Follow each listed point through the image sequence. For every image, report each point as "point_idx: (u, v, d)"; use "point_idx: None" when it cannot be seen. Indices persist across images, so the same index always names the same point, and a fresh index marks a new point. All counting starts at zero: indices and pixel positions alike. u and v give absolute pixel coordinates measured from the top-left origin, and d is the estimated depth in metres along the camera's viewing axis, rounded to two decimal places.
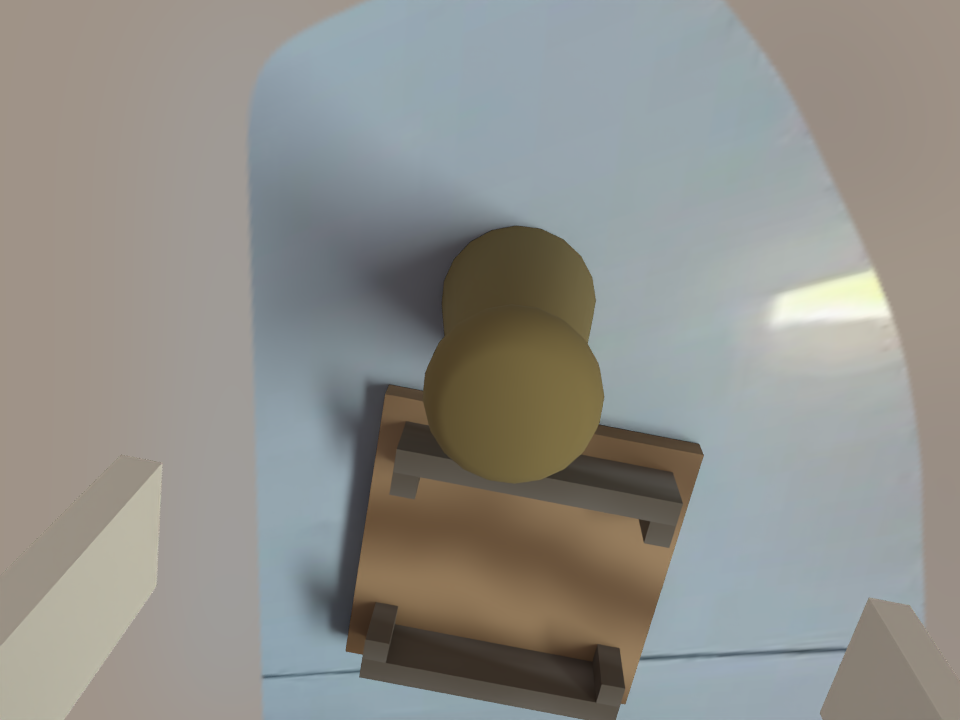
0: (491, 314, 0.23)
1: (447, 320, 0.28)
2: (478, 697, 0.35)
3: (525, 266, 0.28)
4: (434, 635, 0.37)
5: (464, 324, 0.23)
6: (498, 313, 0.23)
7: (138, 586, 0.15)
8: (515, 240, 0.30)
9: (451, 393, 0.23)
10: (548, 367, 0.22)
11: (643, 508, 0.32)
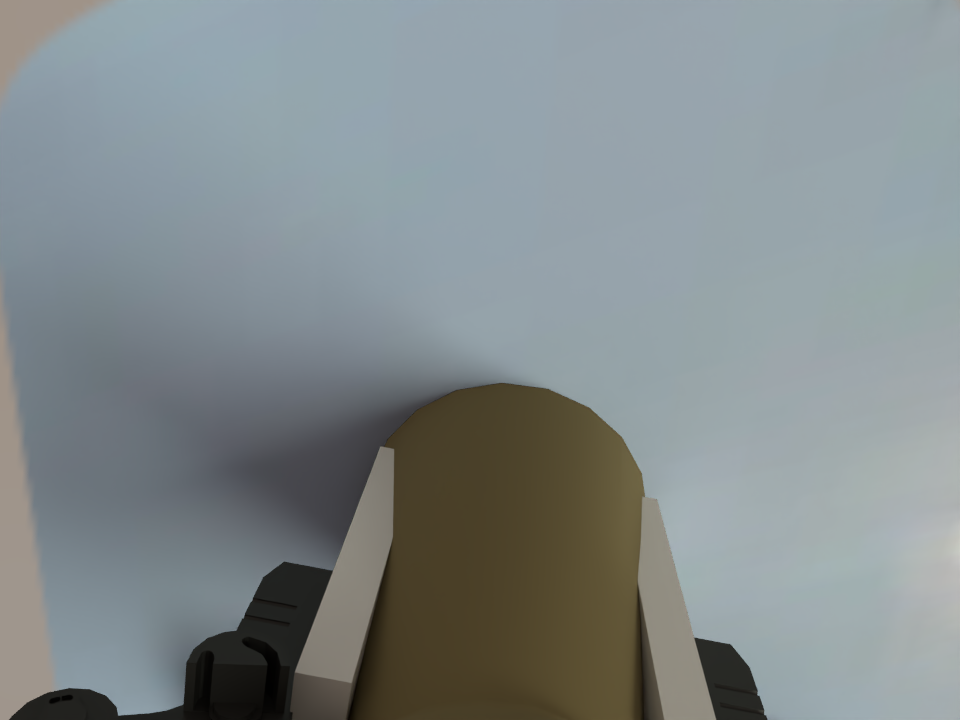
0: None
1: None
2: None
3: (516, 508, 0.14)
4: None
5: None
6: None
7: None
8: (499, 425, 0.16)
9: None
10: None
11: None
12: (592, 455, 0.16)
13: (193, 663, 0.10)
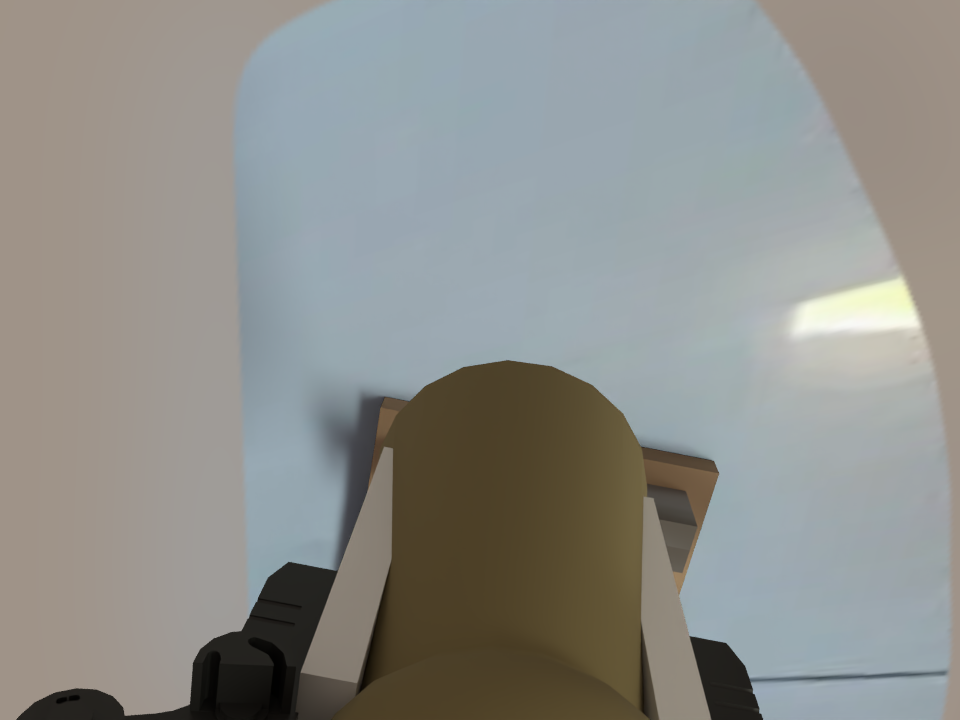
0: None
1: None
2: None
3: (522, 475, 0.14)
4: None
5: None
6: (453, 718, 0.09)
7: None
8: (505, 399, 0.16)
9: None
10: None
11: None
12: (595, 429, 0.16)
13: (200, 663, 0.10)
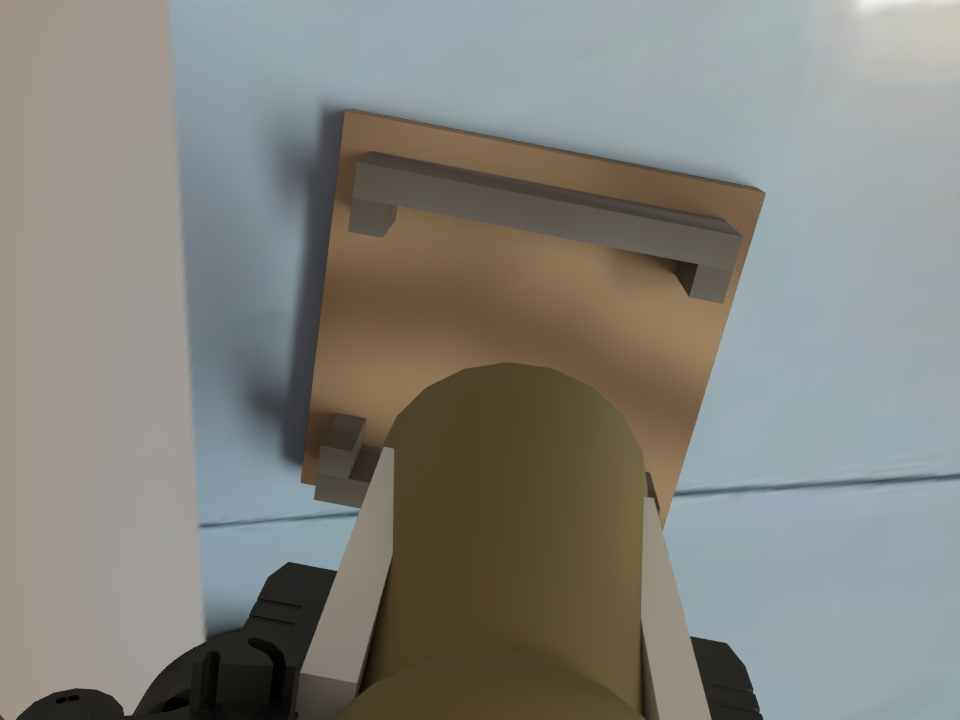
0: None
1: None
2: None
3: (523, 477, 0.14)
4: None
5: None
6: None
7: None
8: (505, 401, 0.16)
9: None
10: None
11: (689, 244, 0.24)
12: (595, 430, 0.16)
13: (199, 663, 0.10)
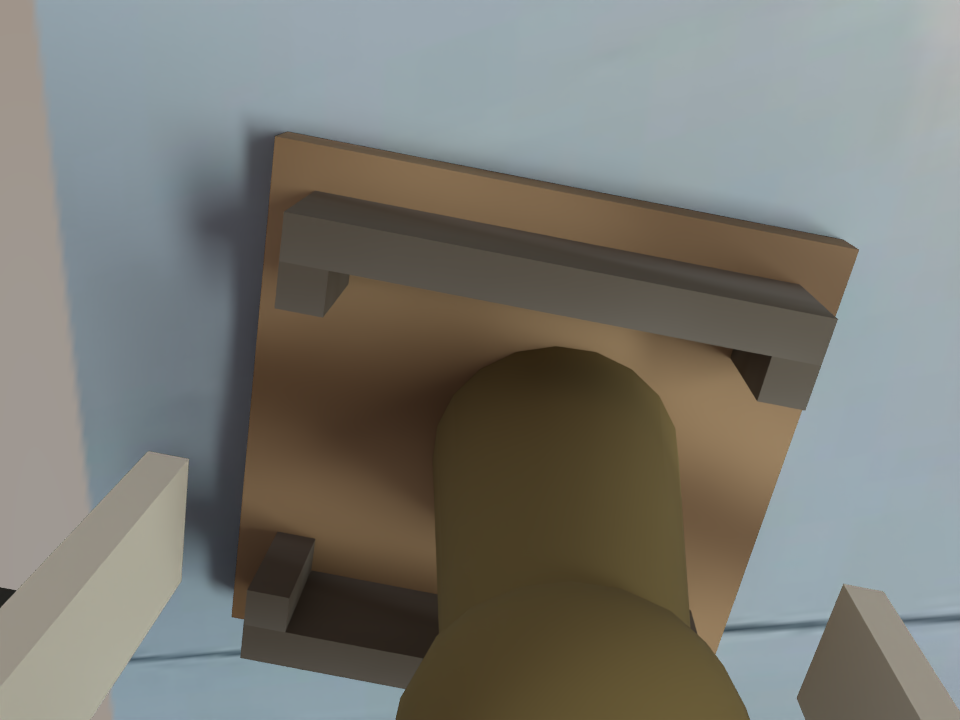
0: (535, 630, 0.11)
1: (441, 534, 0.16)
2: None
3: (580, 444, 0.16)
4: (377, 589, 0.22)
5: (477, 644, 0.11)
6: (550, 629, 0.11)
7: (165, 580, 0.15)
8: (557, 380, 0.18)
9: None
10: None
11: (760, 329, 0.17)
12: (637, 407, 0.18)
13: None
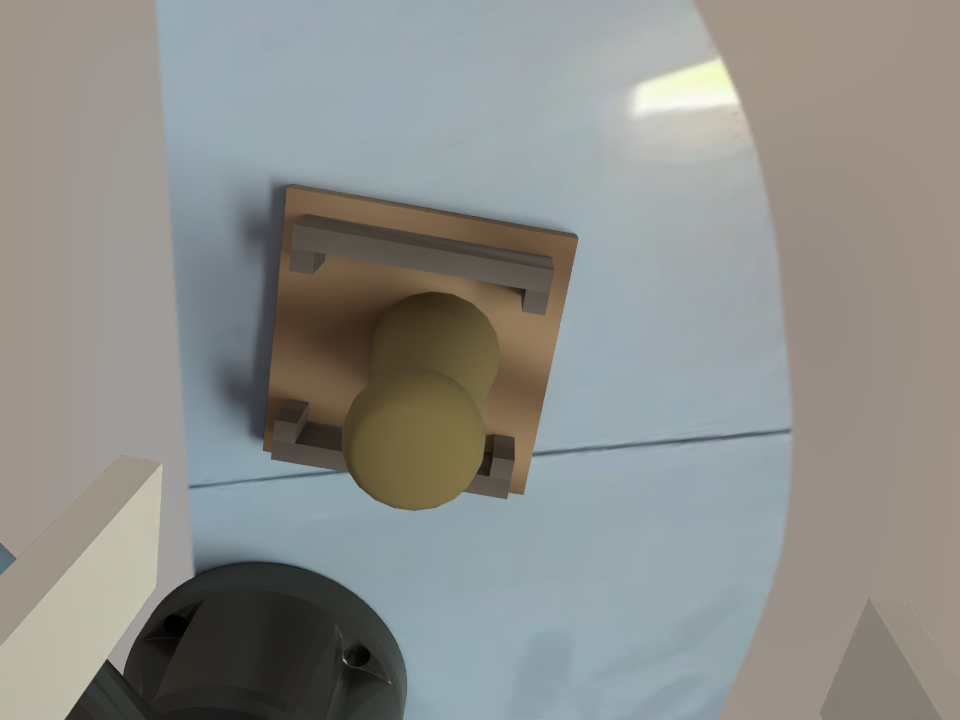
0: (394, 377, 0.29)
1: None
2: None
3: (433, 330, 0.34)
4: None
5: (373, 384, 0.29)
6: (399, 376, 0.29)
7: (138, 586, 0.15)
8: (429, 305, 0.37)
9: (361, 440, 0.29)
10: (436, 420, 0.28)
11: (519, 276, 0.35)
12: (469, 318, 0.37)
13: None
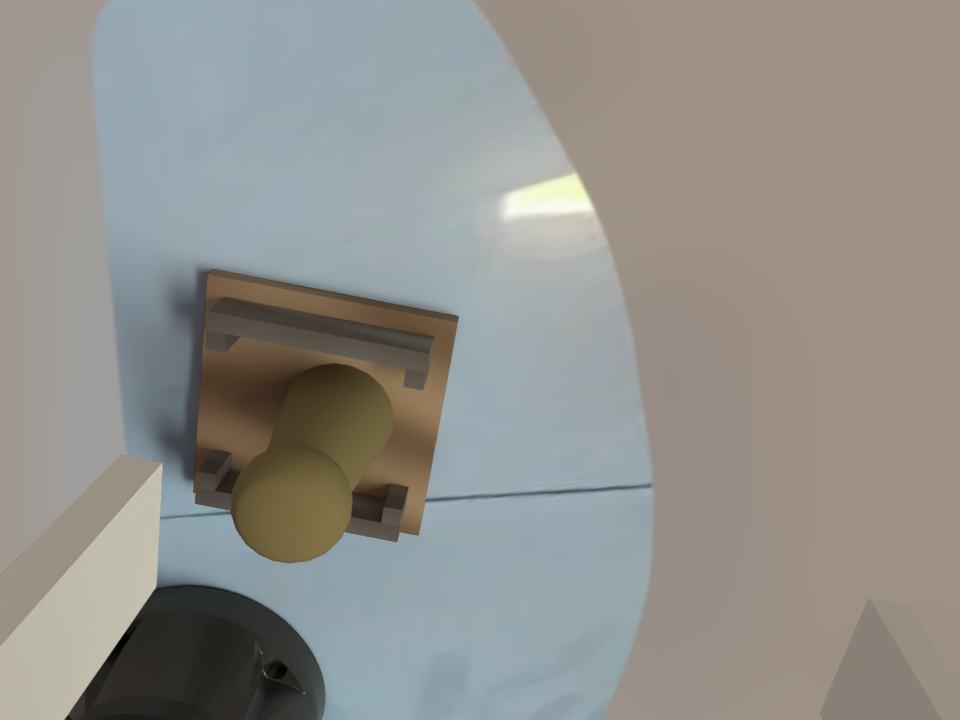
0: (272, 454, 0.35)
1: (270, 439, 0.41)
2: None
3: (323, 403, 0.41)
4: None
5: (256, 460, 0.36)
6: (277, 454, 0.35)
7: (138, 586, 0.15)
8: (327, 378, 0.43)
9: (243, 507, 0.35)
10: (303, 492, 0.35)
11: (399, 357, 0.41)
12: (362, 389, 0.43)
13: None
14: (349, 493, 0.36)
